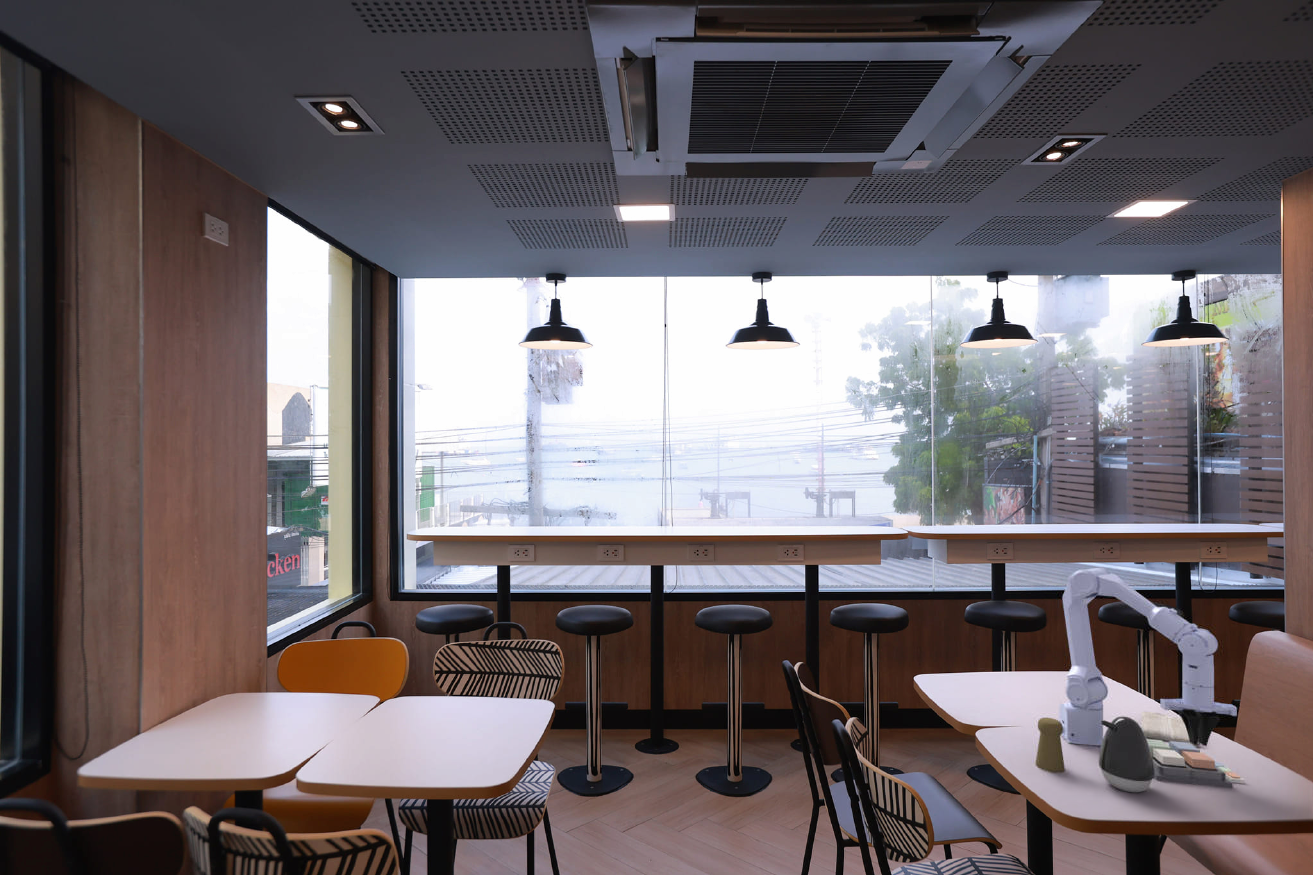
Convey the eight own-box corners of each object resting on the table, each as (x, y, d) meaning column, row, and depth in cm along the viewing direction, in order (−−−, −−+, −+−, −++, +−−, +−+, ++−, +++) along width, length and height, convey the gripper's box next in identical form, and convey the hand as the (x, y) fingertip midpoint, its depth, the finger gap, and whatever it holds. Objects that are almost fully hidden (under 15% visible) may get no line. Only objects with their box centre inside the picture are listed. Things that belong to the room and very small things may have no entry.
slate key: (1178, 756, 164) (1178, 748, 165) (1168, 748, 169) (1168, 740, 169) (1199, 758, 164) (1199, 750, 164) (1189, 750, 168) (1189, 742, 168)
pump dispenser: (1088, 775, 160) (1088, 708, 160) (1134, 777, 159) (1134, 709, 160) (1115, 797, 149) (1115, 725, 150) (1165, 798, 149) (1165, 726, 149)
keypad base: (1156, 779, 158) (1156, 768, 158) (1126, 752, 173) (1126, 742, 173) (1232, 787, 155) (1232, 775, 155) (1195, 759, 170) (1195, 748, 170)
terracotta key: (1192, 766, 159) (1192, 758, 159) (1182, 758, 163) (1182, 751, 163) (1214, 769, 158) (1214, 760, 158) (1203, 760, 162) (1203, 753, 162)
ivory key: (1162, 764, 160) (1162, 756, 160) (1153, 756, 164) (1153, 748, 164) (1184, 766, 159) (1184, 758, 159) (1174, 758, 163) (1174, 750, 163)
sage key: (1149, 753, 166) (1149, 745, 166) (1141, 746, 170) (1141, 738, 170) (1170, 755, 165) (1170, 747, 165) (1161, 747, 169) (1161, 740, 169)
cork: (1061, 763, 166) (1062, 716, 166) (1067, 774, 160) (1067, 725, 160) (1033, 759, 168) (1033, 713, 168) (1038, 770, 162) (1038, 721, 162)
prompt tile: (1231, 782, 158) (1231, 777, 158) (1208, 765, 166) (1208, 760, 166) (1243, 783, 157) (1243, 778, 157) (1219, 766, 166) (1219, 761, 166)
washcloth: (1192, 728, 191) (1192, 716, 191) (1199, 750, 176) (1199, 737, 176) (1140, 718, 198) (1140, 707, 198) (1141, 739, 183) (1141, 727, 183)
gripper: (1171, 686, 158) (1171, 747, 158) (1245, 692, 155) (1245, 753, 155) (1155, 677, 165) (1156, 735, 165) (1226, 682, 162) (1226, 741, 162)
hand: (1198, 743), depth 160 cm, fingers closed
